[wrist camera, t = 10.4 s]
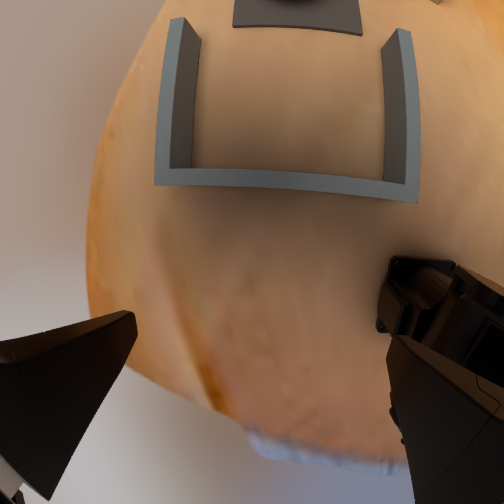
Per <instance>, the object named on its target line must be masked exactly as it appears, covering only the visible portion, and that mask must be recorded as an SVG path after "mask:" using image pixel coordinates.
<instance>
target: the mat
mask: <svg viewBox="0 0 504 504" xmlns="http://www.w3.org/2000/svg"><path fill="white" fill-rule="evenodd" d="M232 26H233V28H242V27H288V28H304V29H315V30H325V31H333V32H340V33H346V34H352V35H358V36H362V35H363V31H362V23H361V16H360V9H359V3H358V0H235V3H234V13H233V23H232Z"/></svg>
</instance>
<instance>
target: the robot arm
mask: <svg viewBox="0 0 504 504" xmlns="http://www.w3.org/2000/svg"><path fill="white" fill-rule="evenodd" d="M397 260H398V264H397V265H394V263H395V261H397ZM451 265H452V267H451V268H450V266H451ZM377 313H378V319H377V323H376V329H377V331H378V332H379V333H390V335H391V337H392V340H391V344H390V347H389V350H388V353H387V356H386V363H387V368H388V374H389V380H390V386H391V392H390V398H391V405H392V407H391V408H390V410H389V412H390V415H391V417H392V419H393V421H394V423H395V424H396V426H397V427H398V429H399V430H400V432H401V433H402V436H403V438H402V439H401V443H402V444H404V445H405V449H406V454H407V459H408V464H409V469H410V474H411V480H412V486H413V492H414V499H415V504H504V288H503V287H502V286H500V285H498V284H497V283H495V282H493V281H491V280H489V279H487V278H485V277H483V276H481V275H479V274H477V273H475V272H473V271H471V270H469V269H467V268H464V267H462V266H460V265H458V264H457V267H456V263H455V262H453V261H451V260H441V259H430V258H418V257H406V256H393V257H392V258H391V259H390V263H389V268H388V274H387V279H386V281H385V282H384V283H383V286H382V291H381V296H380V300H379V305H378V309H377ZM382 325H384V326H383V327H382V328H380V326H382ZM137 336H138V330H137V324H136V318H135V314H134V313H133V312H131V311H126V310H122V311H118V312H115V313H111V314H108V315H104V316H100V317H97V318H93V319H90V320H86V321H82V322H79V323H75V324H72V325H68V326H64V327H60V328H56V329H52V330H49V331H46V332H41V333H37V334H33V335H29V336H25V337H20V338H15V339H10V340H4V341H0V504H25V502H24V497H23V493H22V492H21V491H20V490H19V488H20V486H21V485H22V484H23V482H24V483H25V484H26V485H27V486H29V487H30V488H31V489H33V490H34V491H35V492H36V493H38V494H39V495H40V496H42V497H43V498H45V499H46V500H47V501H49V500H50V499H51V497H52V495H53V493H54V491H55V489H56V487H57V485H58V483H59V481H60V479H61V477H62V474H63V473H64V471H65V469H66V467H67V465H68V463H69V461H70V459H71V456H72V455H73V453H74V452H75V449H76V448H77V446H78V444H79V442H80V441H81V439H82V437H83V435H84V433H85V432H86V429H87V428H88V426H89V424H90V422H91V421H92V419H93V417H94V415H95V414H96V412H97V410H98V409H99V407H100V405H101V403H102V402H103V400H104V398H105V397H106V395H107V393H108V392H109V390H110V388H111V387H112V385H113V383H114V382H115V380H116V378H117V377H118V375H119V373H120V372H121V370H122V368H123V366H124V364H125V362H126V360H127V358H128V356H129V354H130V351H131V349H132V347H133V345H134V343H135V341H136V339H137Z"/></svg>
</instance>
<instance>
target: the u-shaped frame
mask: <svg viewBox="0 0 504 504" xmlns="http://www.w3.org/2000/svg"><path fill="white" fill-rule="evenodd" d="M200 46H201V39H200V38H199V36H198V35H197V33H196V32H195V31H194V29H193V28H192V26H191V25H190V24H189V22H188V21H187V20H186V18H185V17H181V18H176V19H171V21H170V26H169V31H168V37H167V43H166V49H165V55H164V62H163V69H162V77H161V85H160V95H159V105H158V116H157V130H156V147H155V176H154V186H155V185H203V186H240V187H262V188H279V189H294V190H307V191H318V192H329V193H339V194H349V195H358V196H366V197H374V198H382V199H389V200H397V201H403V202H410V203H416V204H417V203H418V191H419V177H420V152H421V127H420V102H419V89H418V78H417V69H416V62H415V55H414V48H413V42H412V37H411V32H409V31H406V30H403V29H400V28H397V29H396V30H395V32H394V33H393V34H392V35H391V37H390V38H389V39H388V41H387V42H386V43H385V45H384V46H383V47H382V49H381V57H382V68H383V81H384V100H385V157H384V177H383V181H377V180H370V179H362V178H354V177H346V176H337V175H327V174H316V173H305V172H291V171H276V170H255V169H216V168H191V161H192V139H193V122H194V107H195V95H196V83H197V73H198V63H199V54H200Z"/></svg>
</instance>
